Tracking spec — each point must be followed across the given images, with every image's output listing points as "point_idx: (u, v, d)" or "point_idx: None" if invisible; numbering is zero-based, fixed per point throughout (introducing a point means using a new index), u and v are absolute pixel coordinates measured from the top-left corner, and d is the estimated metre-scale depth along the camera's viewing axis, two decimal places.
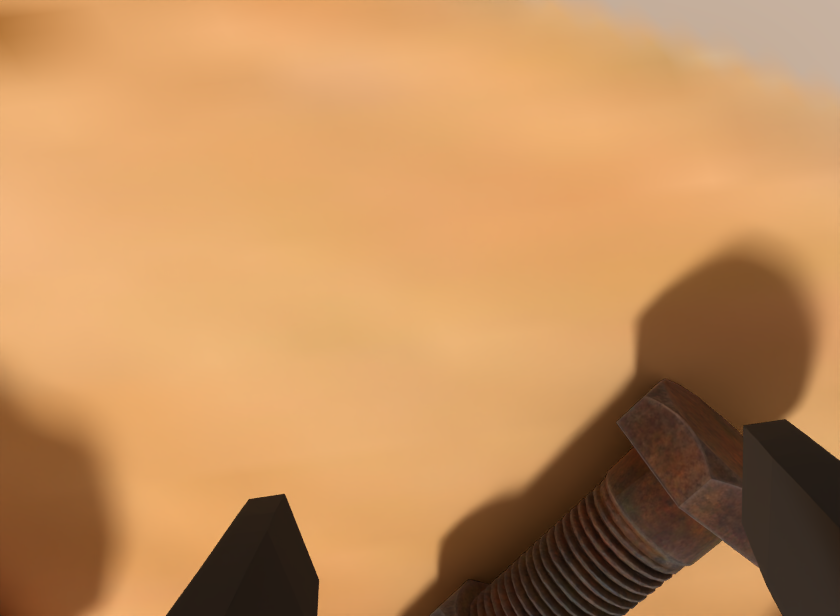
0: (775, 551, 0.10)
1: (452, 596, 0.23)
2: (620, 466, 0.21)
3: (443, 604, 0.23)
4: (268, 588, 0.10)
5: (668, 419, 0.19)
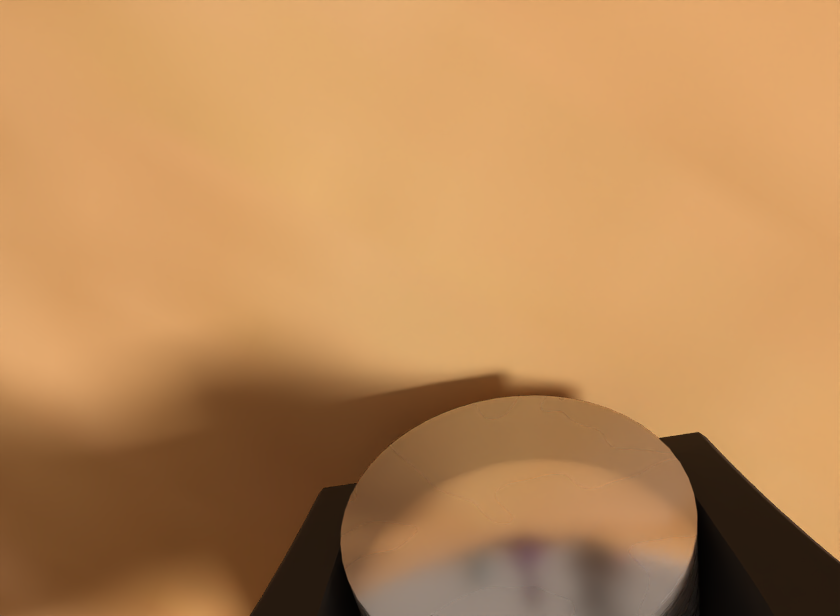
0: None
1: None
2: None
3: None
4: None
5: None
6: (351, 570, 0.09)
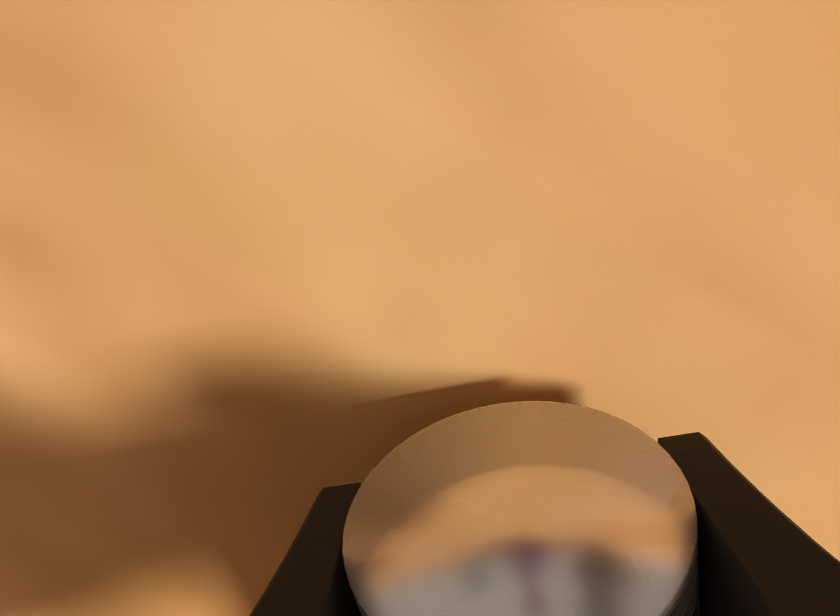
0: None
1: None
2: None
3: None
4: None
5: None
6: (353, 576, 0.09)
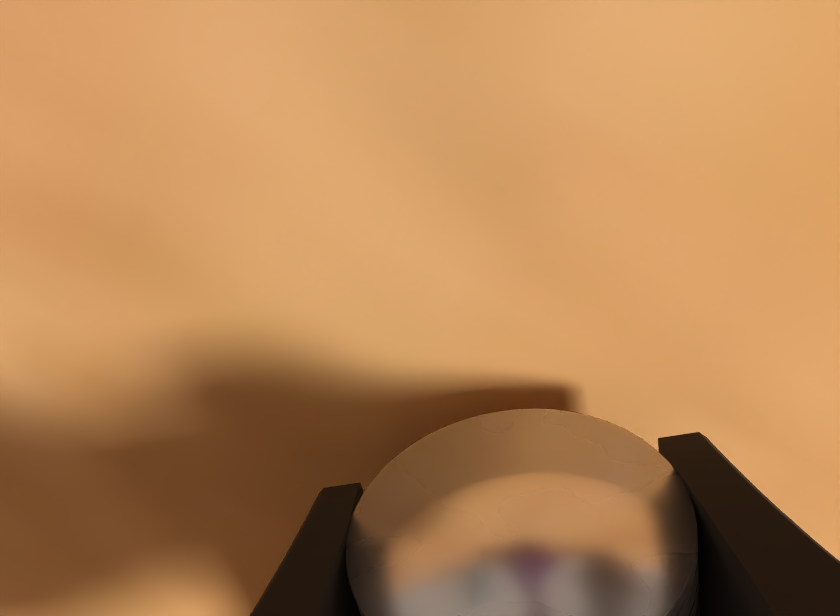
0: None
1: None
2: None
3: None
4: None
5: None
6: (356, 584, 0.09)
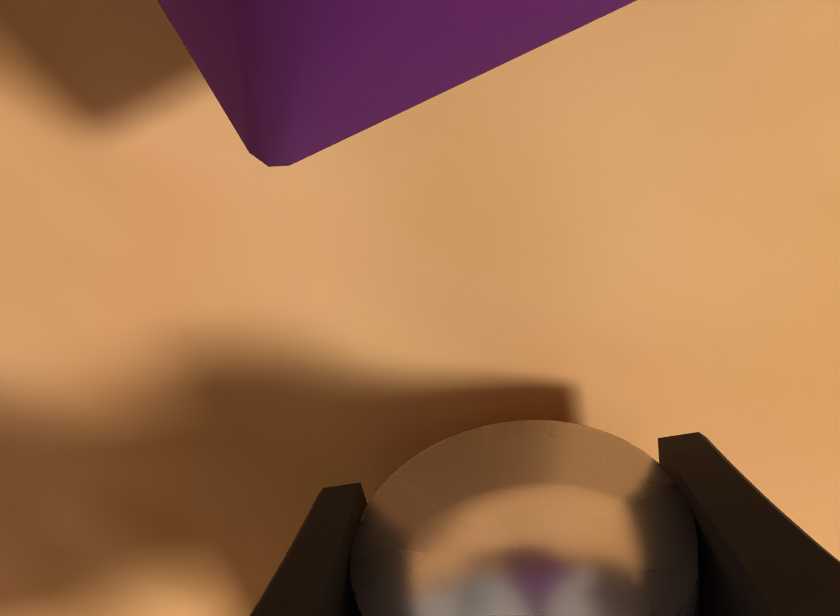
0: None
1: None
2: None
3: None
4: None
5: None
6: (361, 596, 0.09)
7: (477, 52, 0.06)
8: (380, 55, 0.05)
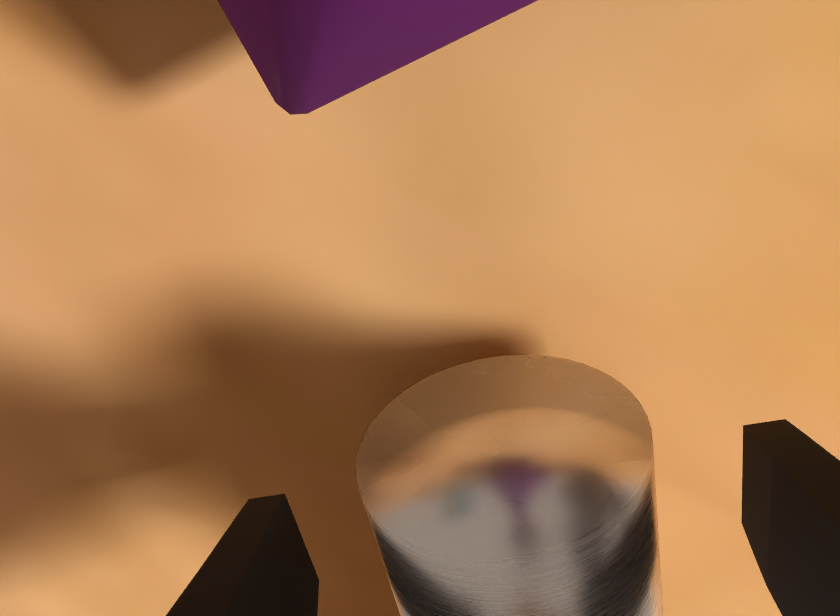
0: (775, 551, 0.10)
1: None
2: None
3: None
4: (268, 588, 0.10)
5: None
6: (365, 493, 0.11)
7: (460, 16, 0.08)
8: (384, 15, 0.07)
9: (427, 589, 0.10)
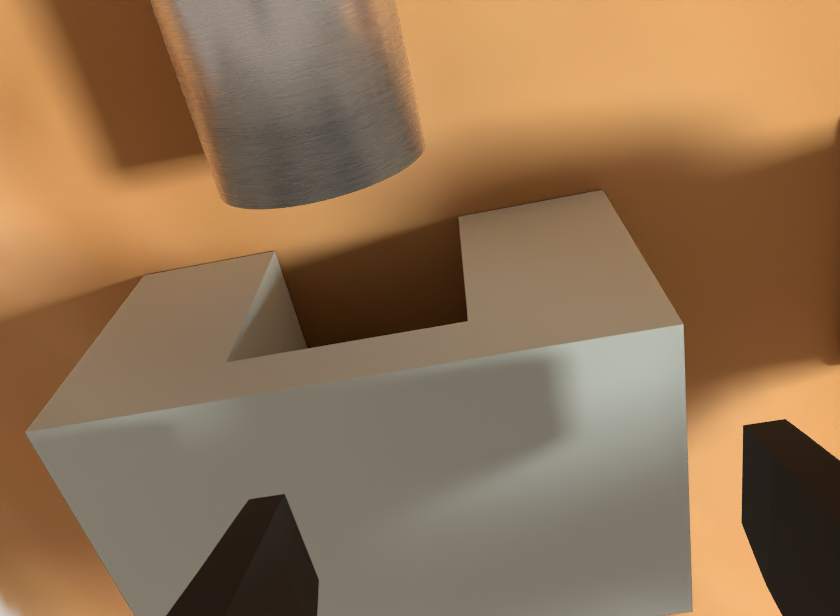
0: (775, 551, 0.10)
1: None
2: None
3: None
4: (268, 588, 0.10)
5: None
6: None
7: None
8: None
9: None
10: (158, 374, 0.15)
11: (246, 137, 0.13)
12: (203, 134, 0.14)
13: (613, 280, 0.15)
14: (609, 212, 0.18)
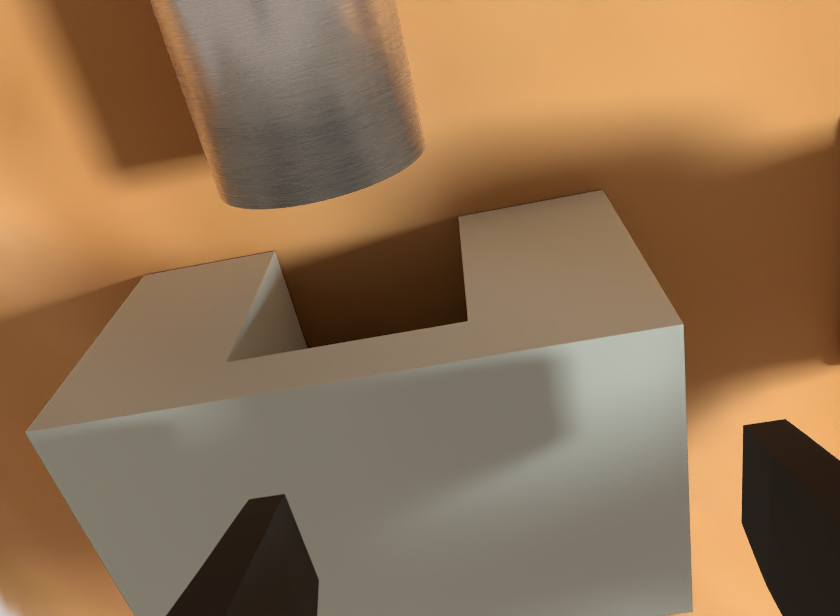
0: (775, 551, 0.10)
1: None
2: None
3: None
4: (268, 588, 0.10)
5: None
6: None
7: None
8: None
9: None
10: (158, 374, 0.15)
11: (246, 137, 0.13)
12: (203, 134, 0.14)
13: (613, 280, 0.15)
14: (609, 212, 0.18)
